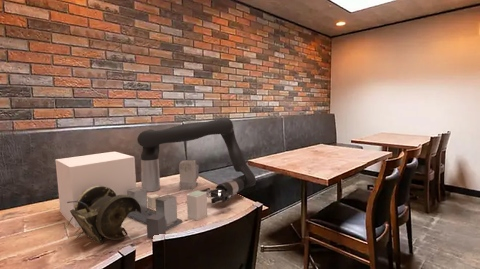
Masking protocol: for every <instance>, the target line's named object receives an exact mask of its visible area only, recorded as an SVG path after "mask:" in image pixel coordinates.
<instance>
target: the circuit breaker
mask: <svg viewBox="0 0 480 269" xmlns="http://www.w3.org/2000/svg"><path fill="white" fill-rule="evenodd" d="M178 164H179V166H178V171H179V188H180V189H179V190H180V191H193V190H195V189H196V188H197V186H198V182H197V180H198V178H199V177H200V176H199V164H197V160H196V159H195V160H193V159H188V160H186V159H185V160H184V159H183V160H182V161H180V162H179V163H178Z"/></svg>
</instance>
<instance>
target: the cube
mask: <svg viewBox="0 0 480 269" xmlns="http://www.w3.org/2000/svg"><path fill="white" fill-rule="evenodd" d="M135 161H136V160H135V156H133V155H129V154H125V153H122V152H118V151H109V152H108V151H107V152H103V153H101V152H100V153H94V154H86V155H81V156H73V157H72V156H70V157H64V158H57V159H55V168H56V169H55V170H56V180H57V191H58V201H59V211H60V212H61V213H62V214H61V213H60V214H61V216H63V217H64V218H65V219H66V220H67V221H68V223H69V222H70V223H69V224H71V225H72V226H73V227H74V228H75V229H76V227H77V228H80V227H79V226H80V225H79V224H78V222H77V221H76V219H75V218H74V217H73V216H72V214H71V212H70V210H72V209H74V210H75V204H76V202H71V203H67V202H70V201H77V199H78V197H79V196H80V195H81V194H82V193H83V192H84V191H85V190H87V189H88V188H90V187H93V186H104V187H108V188H110V189H112V190H113V191H114V192H115V194H116V196H117V195H127V190H129V189H132V188H136V187H137V177H136V176H137V175H136V162H135ZM72 217H73V218H72ZM71 218H72V220H71ZM70 220H71V221H70Z"/></svg>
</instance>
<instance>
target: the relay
mask: <svg viewBox="0 0 480 269" xmlns="http://www.w3.org/2000/svg"><path fill="white" fill-rule="evenodd" d="M146 222H147V224H146V232H147V233H146V236H147V238H150V239H151V238H152V237H153V236H154V235H159V234H165V235H166V233H167V232H166V231H167V230H166V227H165V216H164V215H158V214H152V215H151V216H149V217H147V218H146ZM152 239H153V238H152Z"/></svg>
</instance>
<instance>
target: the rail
mask: <svg viewBox="0 0 480 269" xmlns="http://www.w3.org/2000/svg"><path fill="white" fill-rule="evenodd" d="M127 195H128V196H131V197H132V198H134V199H135V200H137V202H138V203H139V205H140V207H141V213H140V212H138V211H133V212H130V213H129V214H128V216H127V217H128V218H130V219H133V220H135V221H138V222H140V223H142V224H146V225H147V222H146V218H147V217H149V216H151V215H152V214H158V215H164V216H165V227H166V231H168V230H170V229H172V228H174V227H177V226H178V225H180V224H183V219H181V218H178V205H177V196H176V195H171V194H168V193H167V194H165V195H163V196H160V197H159V198H156V199H155V200H156V208H155V210H154V209H152V208H150V207H148V199H147V196H148V192H147V190H146V188H143V187H142V186H136V188H132V189H129V190H127Z"/></svg>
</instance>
